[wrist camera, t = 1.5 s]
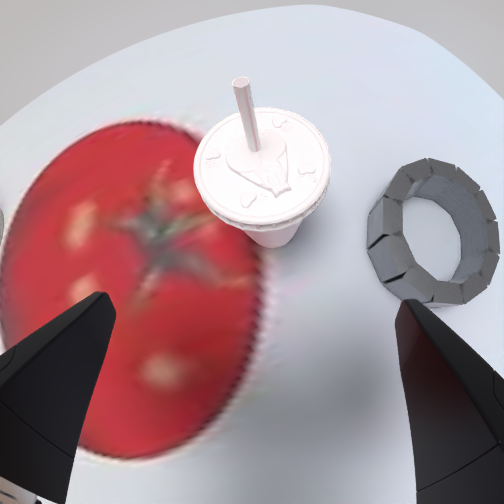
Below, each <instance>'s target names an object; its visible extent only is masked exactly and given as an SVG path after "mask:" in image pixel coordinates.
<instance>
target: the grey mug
mask: <svg viewBox="0 0 504 504" xmlns="http://www.w3.org/2000/svg"><path fill="white" fill-rule="evenodd" d="M3 228H4V217H3V213H2V210H1V209H0V244H1V240H2V235H3Z"/></svg>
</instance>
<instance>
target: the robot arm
mask: <svg viewBox="0 0 504 504" xmlns="http://www.w3.org/2000/svg"><path fill="white" fill-rule="evenodd" d="M115 319H116V310H115V308H114V306H113V304H112V301H111V299H110V297H109V295H108V294H107V293H106V292H98V291H97V292H94V293H93V294H91V295H89V296H88V297H86V298H85V299H83V300H82V301H80V302H78V303H77V304H75V305H74V306H72V307H71V308H69V309H68V310H66V311H65V312H63V313H62V314H60V315H59V316H57V317H56V318H54V319H53V320H51V321H50V322H48V323H47V324H45V325H44V326H42V327H41V328H39V329H38V330H36V331H35V332H33V333H32V334H30V335H29V336H28V337H26V338H25V339H23V340H22V341H20V342H19V343H18V344H17V345H15V346H13V347H12V348H10V349H9V350H8V351H6V352H5V353H3V354H2V355H0V504H42V503H41V501H39V500H38V499H37V496H40V497H42V498H45V499H47V500H49V501H52V502H54V503H57V504H65V502H66V497H67V491H68V486H69V481H70V476H71V472H72V467H73V463H74V458H75V454H76V450H77V446H78V442H79V438H80V434H81V431H82V427H83V423H84V420H85V417H86V413H87V410H88V407H89V403H90V400H91V397H92V394H93V391H94V388H95V385H96V382H97V379H98V376H99V373H100V370H101V367H102V365H103V362H104V359H105V356H106V352H107V348H108V345H109V341H110V337H111V333H112V330H113V326H114V323H115ZM395 330H396V338H397V346H398V355H399V364H400V372H401V377H402V382H403V388H404V393H405V398H406V404H407V410H408V416H409V423H410V430H411V437H412V445H413V454H414V465H415V477H416V491H417V492H416V498H417V504H504V379H503V378H502V377H501V376H500V375H499V374H498V373H497V372H496V371H495V370H494V369H493V368H492V367H491V366H490V365H489V364H488V363H487V362H486V361H485V360H484V359H483V358H482V357H481V356H480V355H479V354H478V353H477V352H476V351H475V350H474V349H472V348H471V347H470V346H469V345H468V344H467V343H466V342H465V341H464V340H463V339H462V338H461V337H460V336H458V335H457V334H456V333H455V332H454V331H453V330H452V329H451V328H450V327H449V326H447V325H446V324H445V323H444V322H443V321H442V320H441V319H440V318H438V317H437V316H436V315H435V314H434V313H433V312H432V311H430V310H429V309H428V308H427V307H426V306H425V305H423V304H422V303H421V302H420V301H419V300H417V299H416V298H409V299H403V300H402V302H401V305H400V308H399V311H398V313H397V316H396V319H395Z"/></svg>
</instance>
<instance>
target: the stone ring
mask: <svg viewBox="0 0 504 504" xmlns="http://www.w3.org/2000/svg"><path fill="white" fill-rule="evenodd" d="M479 190H480V186H479V185H478V184H477V183H476V182H475V181H474V180H472V179H471V178H470V177H469V176H468V175H467V174H466V173H465V172H463V171H462V170H461V169H460V168H459V167H457V168H455V165H453V164H449V163H446V162H442V161H439V160H435V159H431V158H428V159H426V158H424V159H422V160H419V161H416V162H413V163H410V164H408V165H405V166H402V167H401V168H400V169H399V170H398V171H397V173H396V174H395V176H394V177H393V178H392V180H391V181H390V183H389V184H388V186H387V187H386V189H385V190H384V191H383V193H382V195H381V196H380V198H379V199H378V201H377V202H376V204H375V205H374V207H373V209H372V210H371V212H370V213H369V216H368V230H367V249H370V250H369V251H368V252H367V253H368V255H369V257H370V259H371V261H372V264H373V266H374V268H375V270H376V273H377V275H378V277H379V280H380V282H383V281H385V280H386V281H385V283H384V284H383V286H384V287H386V288H387V289H388V290H389V291H391V292H392V293H393V294H394V295H396V296H397V297H398V298H399V299H401V300H403V299H409V298H416V299H417V300H419V301H420V302H421V303H422V304H423V305H425V306H426V307H432V308H438V307H448V306H456V305H462V304H466V303H467V302H469V301H470V300H471V299H473V298H474V297H476V296H477V295H478V294H480V293H481V292H482V291H484V290H485V289H486V288H487V285H489V284H490V282H491V279H492V277H493V274H494V271H495V269H496V266H497V263H498V260H499V256H498V254H500V244H499V231H498V222H496V221H494V220H495V219H497V218H496V216H495V214H494V212H493V210H492V207H491V205H490V203H489V201H488V199H487V197H486V195H485V193H484V192H483V190H481V191H479ZM413 196H416V197H421V198H425V199H430V200H434V201H435V202H436V203H438V204H439V205H440V206H441V207H442V208H444V209H445V210H446V211H447V212H448V213H449V214H450V215H451V216H452V218H453V220H454V222H455V225H456V227H457V229H458V231H459V233H460V235H461V261H460V264H459V266H458V268H457V270H456V272H455V274H454V276H453V278H452V280H450V281H448V282H443V281H437V280H436V279H435V278H434V277H433V276H432V275H430V274H429V273H428V272H427V271H426V270H425V269H423V268H422V267H421V266H420V265H419V264H417V263H416V261H415V259H414V257H413V255H412V252H411V250H410V248H409V246H408V244H407V241H406V239H405V237H404V235H403V218H402V203H403V201H404V200H406V199H408V198H411V197H413Z"/></svg>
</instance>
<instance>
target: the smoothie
mask: <svg viewBox="0 0 504 504" xmlns="http://www.w3.org/2000/svg"><path fill="white" fill-rule="evenodd" d="M232 84H233V88H234V92H235V95H236V99H237V103H238V107H239V111H240V112H237V113H235V114H232V115H230V116H228V117H226V118H225V119H223V120H222V121H220V122H219V123H217V124H216V125H215V126H214V127H213V128H212V129H211V130H210V131H209V132H208V133H207V134H206V136H205V137H204V138H203V140H202V141H201V143H200V145H199V147H198V149H197V152H196V155H195V160H194V178H195V182H196V186H197V188H198V190H199V192H200V194H201V196H202V199H203V201H204V202H205V204H206V205H207V206H208V208H209V209H210V210H211V212H212V213H213V214H215V215H216V216H217V217H218V218H220V219H221V220H222V221H224V222H225V223H227V224H229V225H232V226H234V227H237V228H239V229H242V230H243V231H244V232H245V233H246V234H247V235H248V236H250V237H251V238H252V239H253V240H254V241H255V242H256V243H258V244H259V245H261V246H263V247H267V248H278V247H281V246H283V245H285V244H287V243H288V242H289V241H290V240H291V239H292V238H293V236H294V235H295V233H296V231H297V229H298V228H299V226H300V224H301V223H302V221H303V219H304V218H305V217H307V216H308V215H309V214H311V213H312V212H313V211H314V210H315V208H316V207H317V206H318V205H319V203H320V202H321V201H322V200H323V198H324V196H325V193H326V190H327V188H328V185H329V180H330V170H331V157H330V152H329V149H328V146H327V143H326V141H325V139H324V138H323V136H322V135H321V133H320V132H319V131H318V130H317V128H316V127H315V126H314V125H312V124H311V123H310V122H309V121H307V120H306V119H304V118H303V117H301V116H299V115H297V114H295V113H293V112H290V111H287V110H283V109H278V108H268V107H263V108H254V105H253V100H252V95H251V89H250V84H249V80H248V79H247V78H245V77H238V78H236V79H234V81H233V83H232Z"/></svg>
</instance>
